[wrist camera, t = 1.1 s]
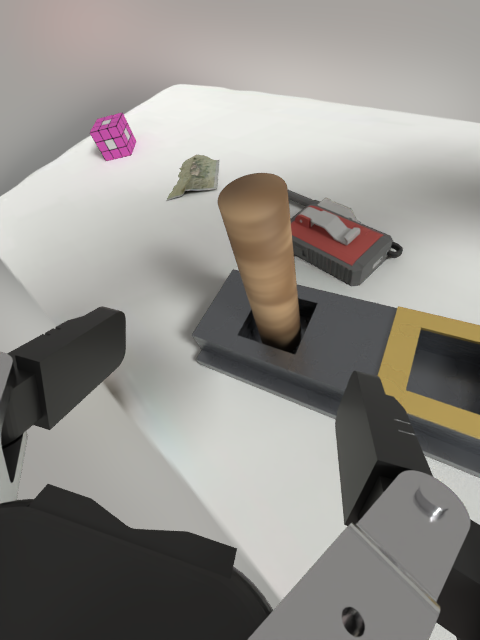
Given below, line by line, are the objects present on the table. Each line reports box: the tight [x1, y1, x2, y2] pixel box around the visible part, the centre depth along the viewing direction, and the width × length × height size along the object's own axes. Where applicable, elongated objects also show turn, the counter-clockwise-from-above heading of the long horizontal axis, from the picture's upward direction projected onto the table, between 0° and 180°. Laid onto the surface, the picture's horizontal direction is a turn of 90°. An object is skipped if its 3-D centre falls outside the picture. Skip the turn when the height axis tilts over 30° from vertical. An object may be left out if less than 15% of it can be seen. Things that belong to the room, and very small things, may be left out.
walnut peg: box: [218, 173, 301, 352], centre depth 24 cm, size 4×4×16 cm
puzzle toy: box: [90, 113, 136, 161], centre depth 62 cm, size 6×6×6 cm
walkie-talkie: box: [288, 190, 403, 286], centre depth 37 cm, size 9×4×20 cm
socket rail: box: [192, 270, 480, 478], centre depth 26 cm, size 11×28×4 cm, turn 63°
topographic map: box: [167, 155, 219, 201], centre depth 53 cm, size 14×14×2 cm
